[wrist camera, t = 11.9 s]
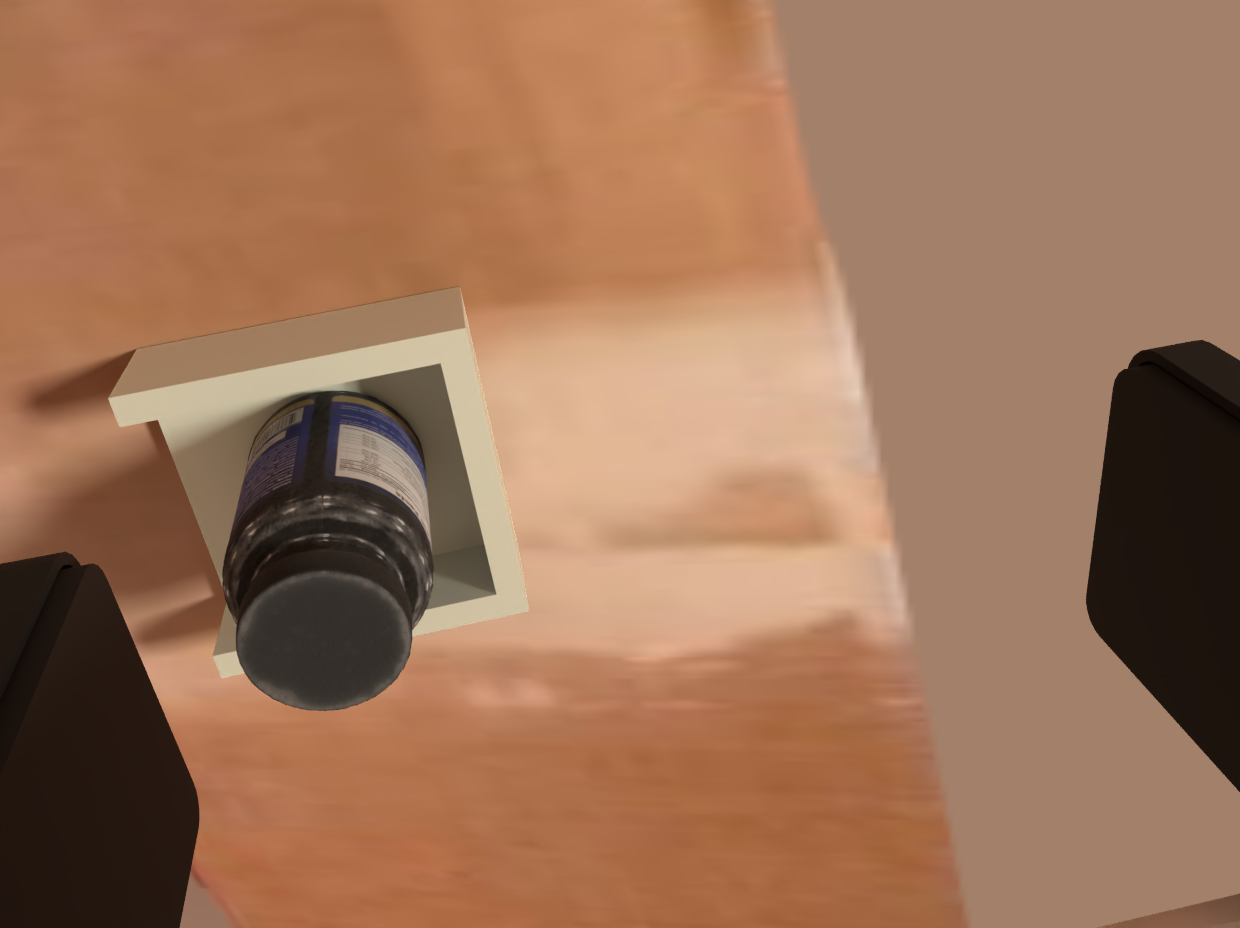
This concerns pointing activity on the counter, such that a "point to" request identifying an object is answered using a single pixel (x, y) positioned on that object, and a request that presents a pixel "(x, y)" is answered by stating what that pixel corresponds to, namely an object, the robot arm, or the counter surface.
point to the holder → (358, 362)
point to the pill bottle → (329, 551)
